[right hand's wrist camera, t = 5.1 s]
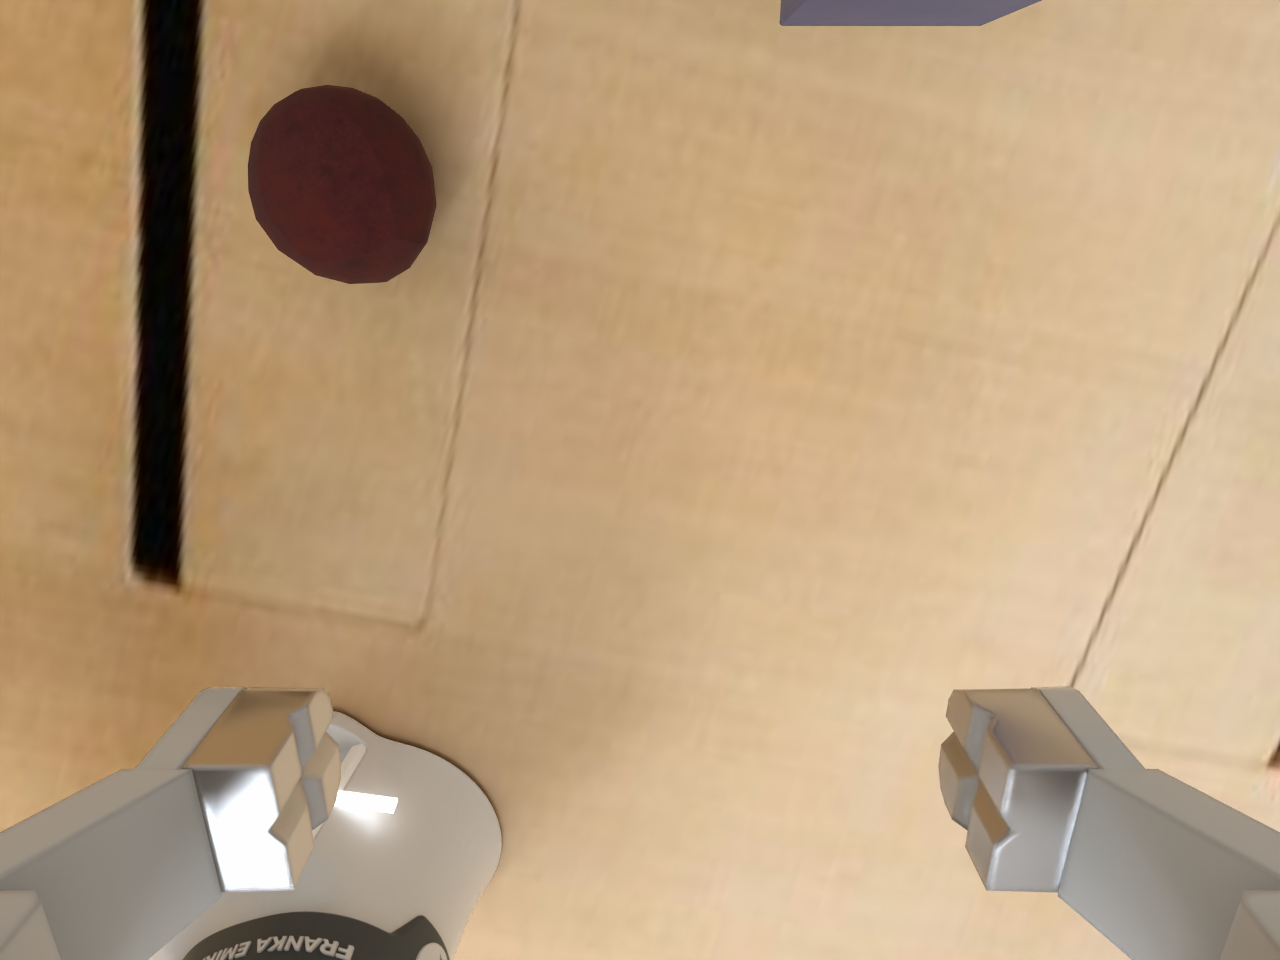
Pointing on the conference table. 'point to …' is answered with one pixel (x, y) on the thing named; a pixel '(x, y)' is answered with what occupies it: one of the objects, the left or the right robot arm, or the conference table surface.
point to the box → (896, 12)
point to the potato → (341, 184)
